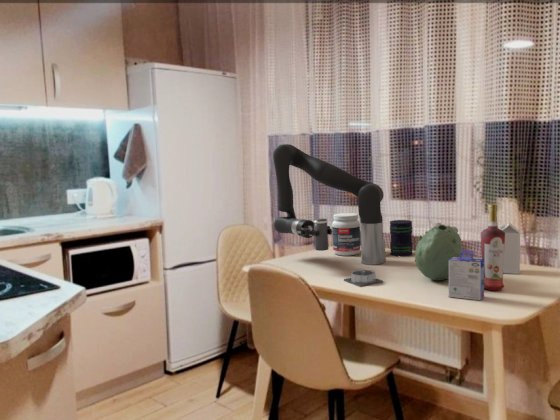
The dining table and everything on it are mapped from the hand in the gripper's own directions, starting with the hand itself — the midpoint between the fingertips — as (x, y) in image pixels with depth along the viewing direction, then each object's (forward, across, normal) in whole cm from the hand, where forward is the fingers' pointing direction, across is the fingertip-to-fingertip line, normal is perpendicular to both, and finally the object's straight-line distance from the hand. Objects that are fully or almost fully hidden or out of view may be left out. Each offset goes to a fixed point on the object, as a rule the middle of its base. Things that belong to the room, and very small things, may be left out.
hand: (324, 232), depth 190 cm
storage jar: (-8, +45, +17) cm, 48 cm away
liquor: (+52, +32, +17) cm, 63 cm away
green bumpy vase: (+33, +27, +17) cm, 46 cm away
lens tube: (-3, 0, +7) cm, 7 cm away
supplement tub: (-25, +27, +16) cm, 40 cm away
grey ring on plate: (+19, +4, +16) cm, 25 cm away
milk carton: (+40, +55, +18) cm, 70 cm away
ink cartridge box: (+53, +19, +17) cm, 59 cm away
